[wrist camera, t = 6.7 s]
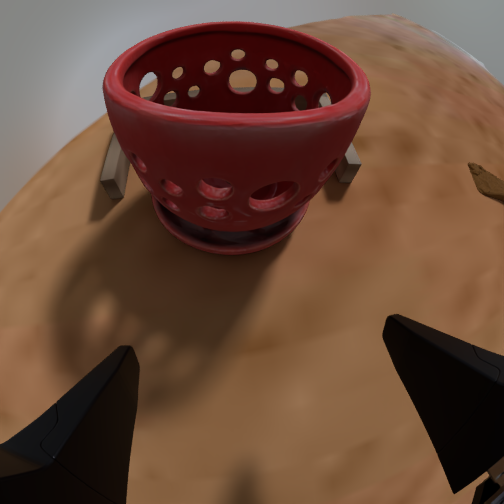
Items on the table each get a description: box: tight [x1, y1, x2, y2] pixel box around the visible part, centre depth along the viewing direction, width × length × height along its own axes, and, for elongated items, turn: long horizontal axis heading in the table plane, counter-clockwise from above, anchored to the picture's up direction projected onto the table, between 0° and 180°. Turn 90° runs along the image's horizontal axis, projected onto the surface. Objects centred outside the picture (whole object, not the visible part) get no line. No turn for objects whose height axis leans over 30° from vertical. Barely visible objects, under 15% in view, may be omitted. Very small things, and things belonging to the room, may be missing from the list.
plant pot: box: [103, 22, 371, 255], centre depth 15 cm, size 13×13×12 cm
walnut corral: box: [100, 87, 361, 199], centre depth 22 cm, size 11×20×2 cm, turn 97°
